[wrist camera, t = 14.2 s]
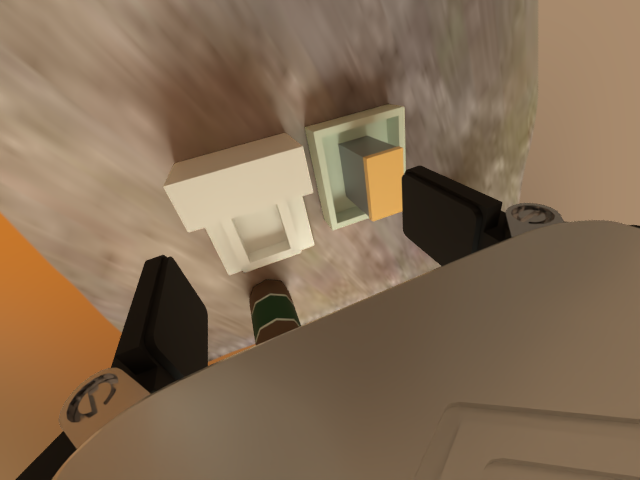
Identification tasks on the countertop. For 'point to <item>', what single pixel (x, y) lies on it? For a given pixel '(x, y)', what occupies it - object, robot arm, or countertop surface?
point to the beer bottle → (272, 311)
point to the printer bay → (246, 201)
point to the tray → (326, 157)
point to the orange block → (373, 175)
